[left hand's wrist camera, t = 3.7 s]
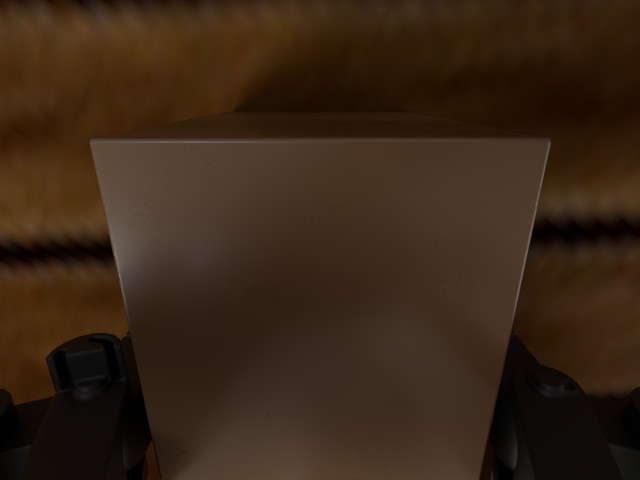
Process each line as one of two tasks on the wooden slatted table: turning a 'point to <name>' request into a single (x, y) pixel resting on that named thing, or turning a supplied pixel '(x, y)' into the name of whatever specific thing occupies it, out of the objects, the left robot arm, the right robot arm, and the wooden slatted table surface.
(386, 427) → the bar
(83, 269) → the wooden slatted table surface
